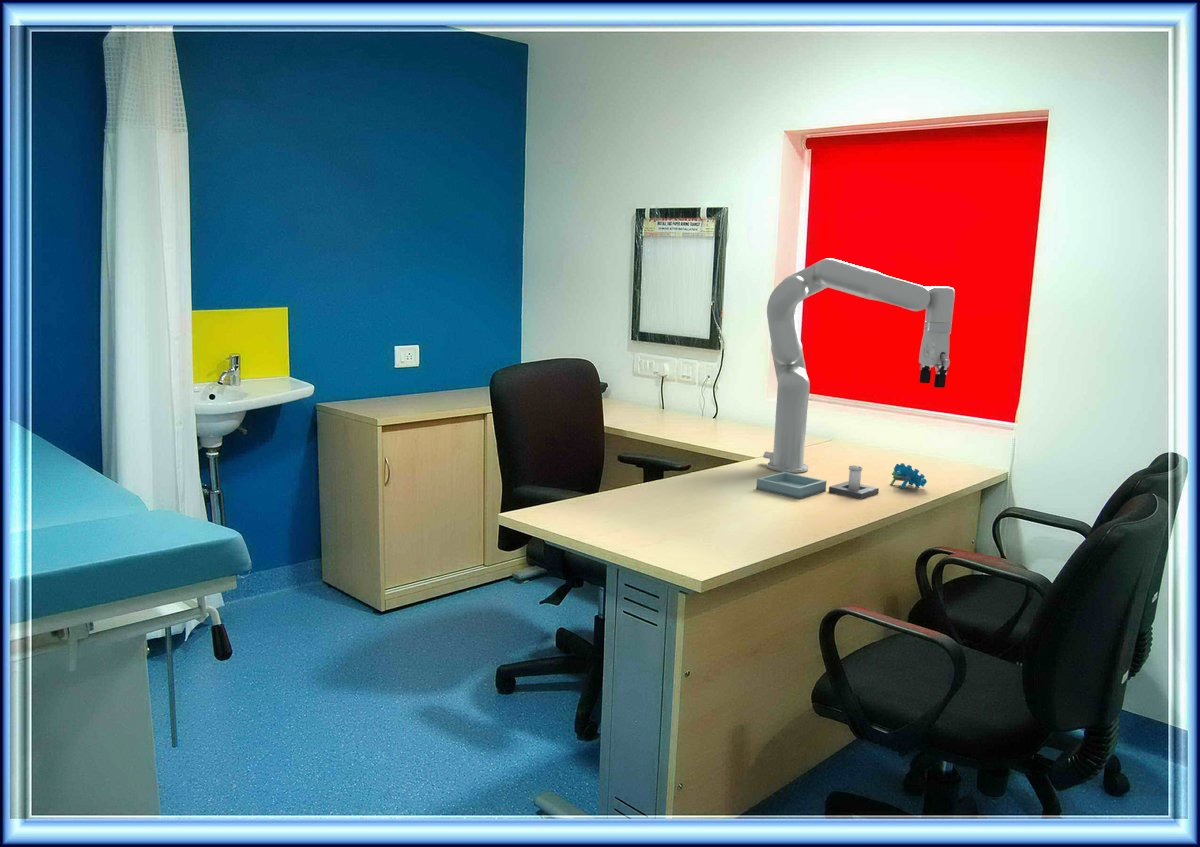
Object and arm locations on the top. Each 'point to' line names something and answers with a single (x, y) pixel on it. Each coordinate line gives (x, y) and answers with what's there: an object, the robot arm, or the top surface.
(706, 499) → the top surface
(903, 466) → the blue lumpy figure
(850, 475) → the cylinder
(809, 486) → the parts tray
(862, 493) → the frame
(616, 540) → the top surface
